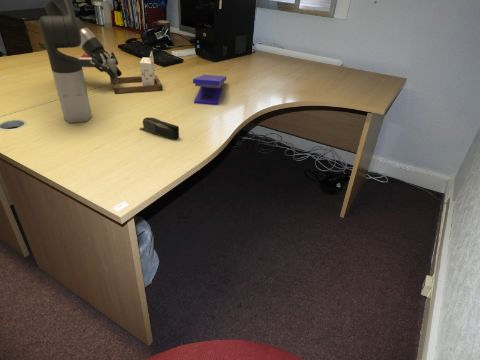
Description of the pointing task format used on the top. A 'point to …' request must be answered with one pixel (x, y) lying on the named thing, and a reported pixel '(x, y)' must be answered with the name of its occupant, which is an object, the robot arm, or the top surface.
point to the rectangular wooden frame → (130, 79)
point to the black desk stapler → (160, 128)
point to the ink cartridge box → (147, 71)
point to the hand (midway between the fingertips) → (117, 76)
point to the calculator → (85, 60)
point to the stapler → (209, 89)
